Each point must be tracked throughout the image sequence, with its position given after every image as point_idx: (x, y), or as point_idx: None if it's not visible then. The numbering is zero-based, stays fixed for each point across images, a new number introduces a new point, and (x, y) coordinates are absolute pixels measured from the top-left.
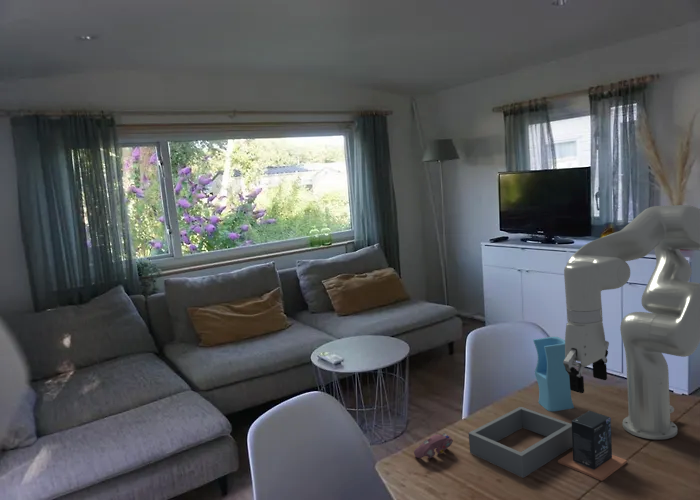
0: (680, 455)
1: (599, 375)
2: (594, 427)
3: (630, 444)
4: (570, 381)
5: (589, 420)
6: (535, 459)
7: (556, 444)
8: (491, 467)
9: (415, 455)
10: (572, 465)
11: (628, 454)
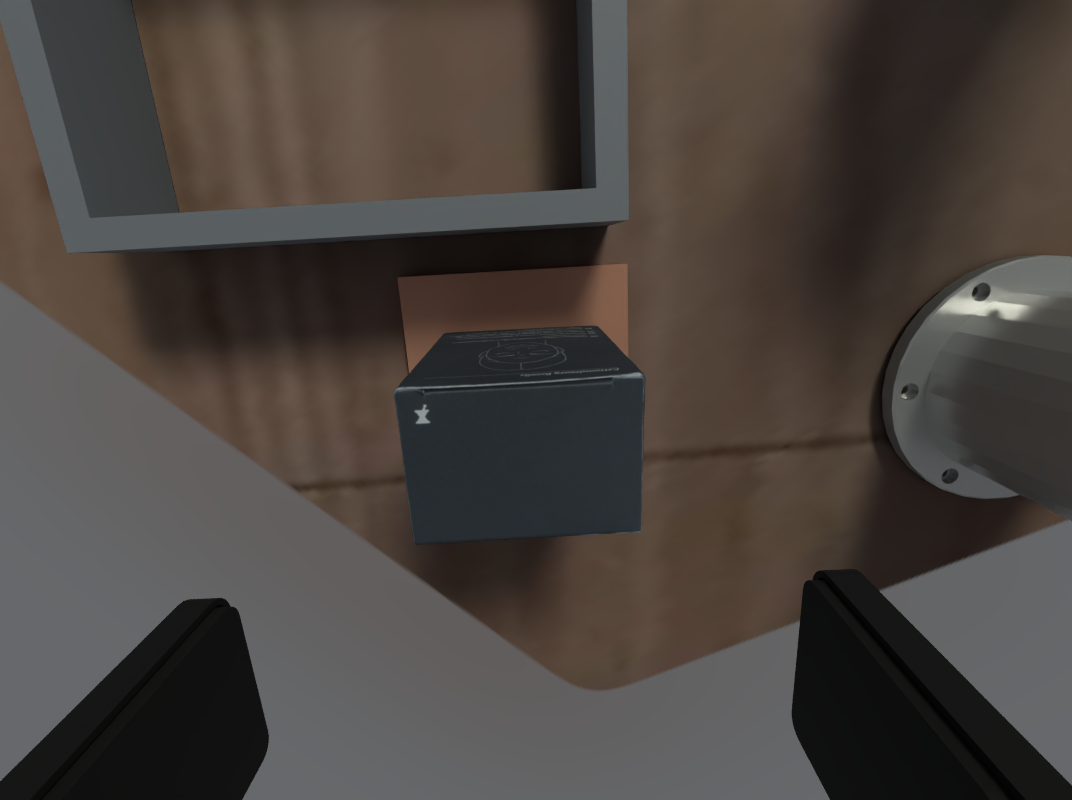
0: (823, 569)
1: (821, 704)
2: (434, 542)
3: (789, 400)
4: (83, 716)
5: (487, 477)
6: (237, 245)
7: (432, 233)
8: None
9: None
10: (412, 351)
11: (696, 440)
